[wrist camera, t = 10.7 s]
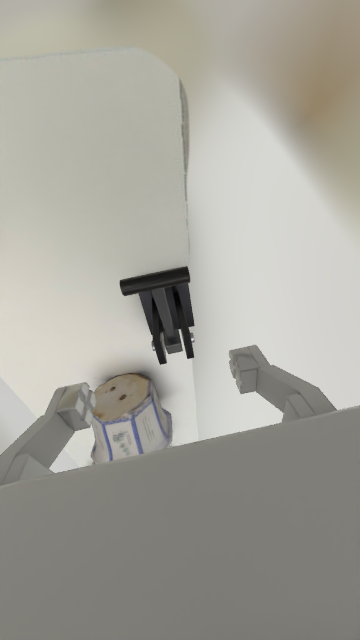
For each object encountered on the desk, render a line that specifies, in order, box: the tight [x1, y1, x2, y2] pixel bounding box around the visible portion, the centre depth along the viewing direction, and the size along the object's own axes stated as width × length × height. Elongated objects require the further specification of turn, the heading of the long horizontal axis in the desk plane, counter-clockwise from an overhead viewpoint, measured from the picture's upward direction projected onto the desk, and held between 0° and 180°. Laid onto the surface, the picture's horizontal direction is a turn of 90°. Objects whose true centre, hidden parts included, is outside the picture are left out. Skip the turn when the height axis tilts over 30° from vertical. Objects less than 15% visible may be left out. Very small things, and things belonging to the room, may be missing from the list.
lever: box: [120, 266, 190, 354], centre depth 24 cm, size 15×6×2 cm, turn 9°
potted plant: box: [91, 373, 172, 464], centre depth 48 cm, size 18×18×30 cm
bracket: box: [139, 283, 194, 365], centre depth 33 cm, size 12×9×14 cm
